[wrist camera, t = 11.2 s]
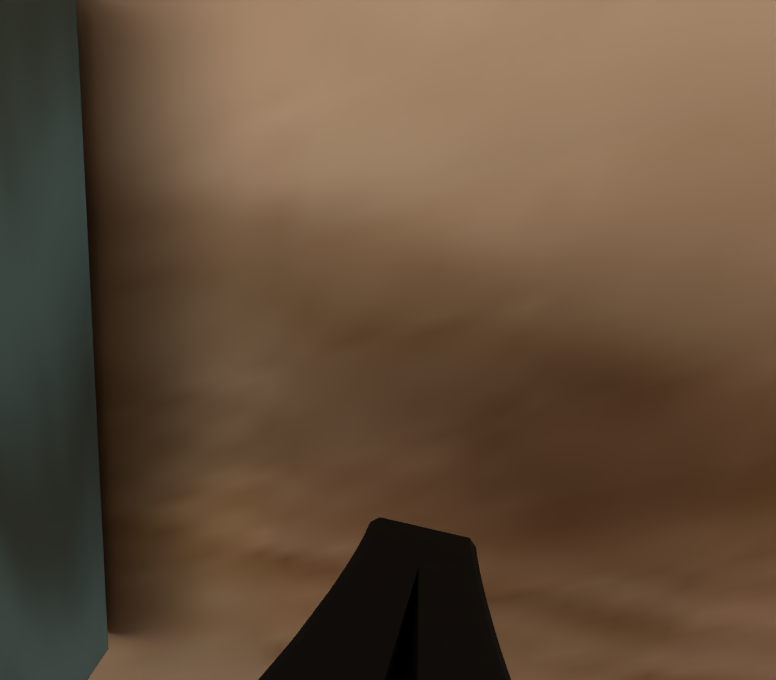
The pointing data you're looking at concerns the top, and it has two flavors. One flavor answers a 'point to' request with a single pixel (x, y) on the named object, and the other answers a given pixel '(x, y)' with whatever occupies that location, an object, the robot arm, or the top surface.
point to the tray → (46, 358)
